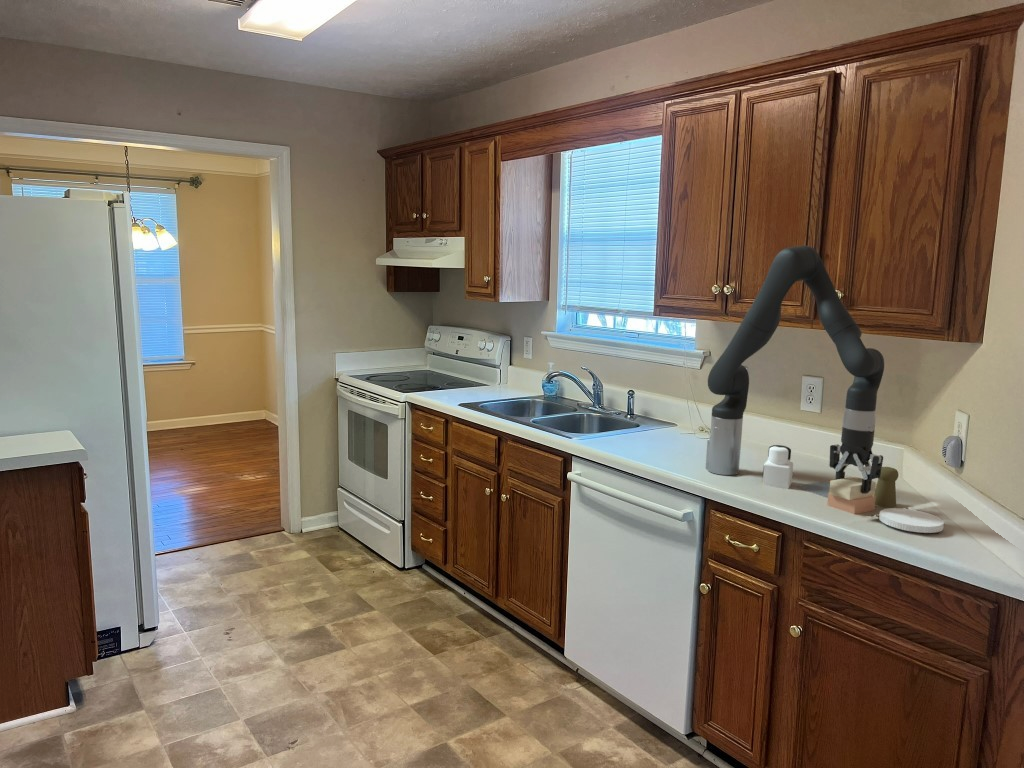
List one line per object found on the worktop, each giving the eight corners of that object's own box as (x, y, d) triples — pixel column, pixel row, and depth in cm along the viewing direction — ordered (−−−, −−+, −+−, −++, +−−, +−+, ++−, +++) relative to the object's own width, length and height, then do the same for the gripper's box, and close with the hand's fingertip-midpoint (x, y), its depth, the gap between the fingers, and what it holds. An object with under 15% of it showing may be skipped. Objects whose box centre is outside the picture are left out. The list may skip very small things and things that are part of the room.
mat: (792, 489, 212) (793, 486, 212) (821, 484, 218) (821, 481, 218) (828, 501, 202) (829, 498, 202) (857, 496, 208) (857, 492, 208)
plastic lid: (882, 532, 180) (883, 521, 179) (875, 514, 193) (876, 505, 193) (948, 540, 175) (949, 529, 175) (936, 522, 188) (937, 512, 188)
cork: (888, 504, 201) (893, 464, 199) (901, 511, 195) (905, 470, 193) (866, 504, 201) (870, 464, 199) (878, 511, 195) (882, 470, 193)
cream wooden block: (829, 493, 194) (830, 480, 193) (854, 489, 199) (855, 476, 198) (849, 500, 189) (850, 486, 188) (874, 495, 193) (875, 482, 193)
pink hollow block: (826, 508, 196) (828, 492, 195) (846, 504, 200) (848, 488, 199) (853, 517, 189) (855, 500, 188) (873, 513, 193) (875, 496, 192)
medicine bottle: (765, 482, 220) (769, 442, 218) (791, 486, 216) (795, 445, 215) (761, 488, 213) (765, 447, 212) (788, 492, 210) (791, 450, 208)
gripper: (824, 422, 195) (819, 483, 198) (874, 433, 183) (868, 498, 185) (843, 420, 199) (837, 480, 201) (893, 430, 186) (886, 495, 189)
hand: (852, 489), depth 193 cm, fingers open, 6 cm apart
